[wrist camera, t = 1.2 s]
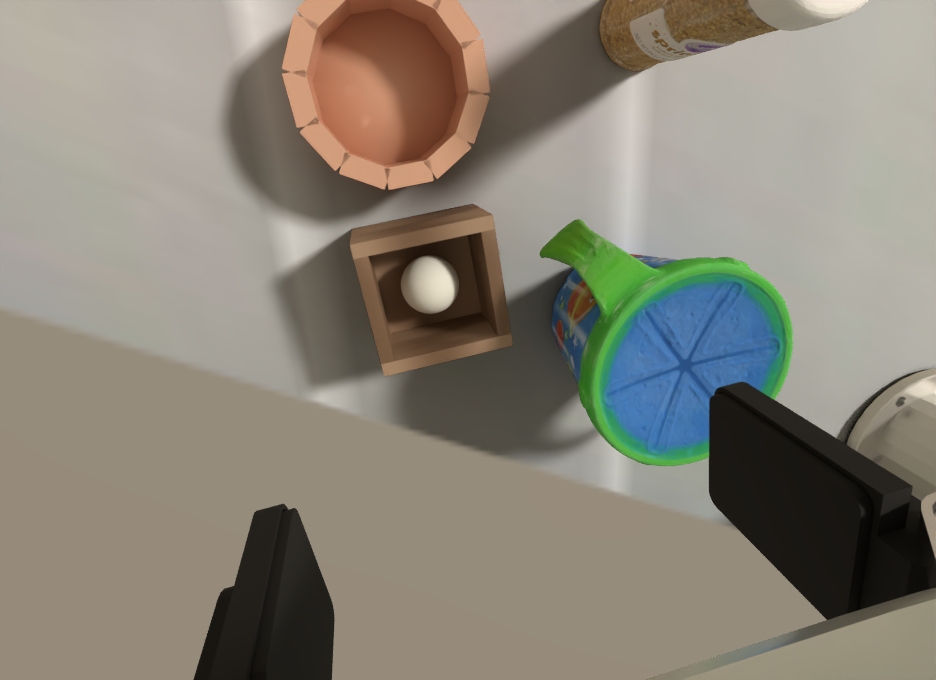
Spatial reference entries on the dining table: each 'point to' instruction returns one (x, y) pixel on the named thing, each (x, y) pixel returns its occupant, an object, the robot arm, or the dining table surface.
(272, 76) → the dining table surface
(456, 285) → the ball
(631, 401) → the snack cup
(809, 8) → the sprinkles bottle
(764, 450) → the robot arm
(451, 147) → the pot
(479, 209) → the walnut box
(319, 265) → the dining table surface
